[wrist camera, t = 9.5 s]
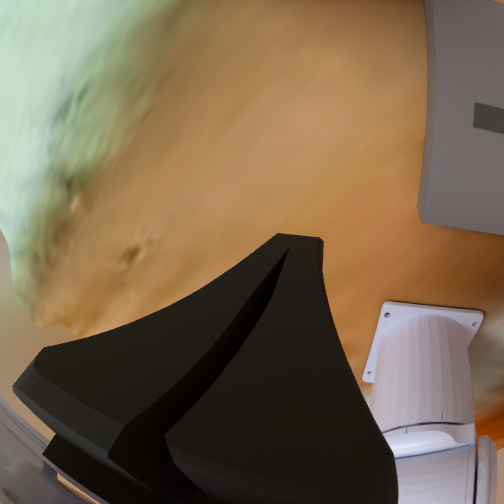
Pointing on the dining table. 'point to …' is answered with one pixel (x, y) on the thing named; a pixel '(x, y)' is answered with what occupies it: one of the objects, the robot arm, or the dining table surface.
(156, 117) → the dining table surface
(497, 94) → the console
